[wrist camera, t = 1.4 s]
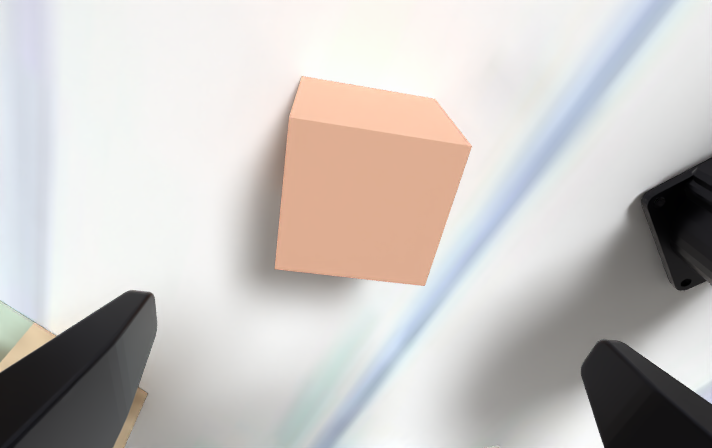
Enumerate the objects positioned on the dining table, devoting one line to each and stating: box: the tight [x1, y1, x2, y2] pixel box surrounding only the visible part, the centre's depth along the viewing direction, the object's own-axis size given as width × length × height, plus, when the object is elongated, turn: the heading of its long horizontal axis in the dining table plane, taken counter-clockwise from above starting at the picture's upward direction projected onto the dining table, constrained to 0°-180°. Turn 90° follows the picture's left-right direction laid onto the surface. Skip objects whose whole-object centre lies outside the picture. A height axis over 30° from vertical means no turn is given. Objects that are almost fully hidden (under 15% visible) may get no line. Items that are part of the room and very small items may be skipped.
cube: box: [275, 76, 472, 286], centre depth 14 cm, size 5×5×5 cm
